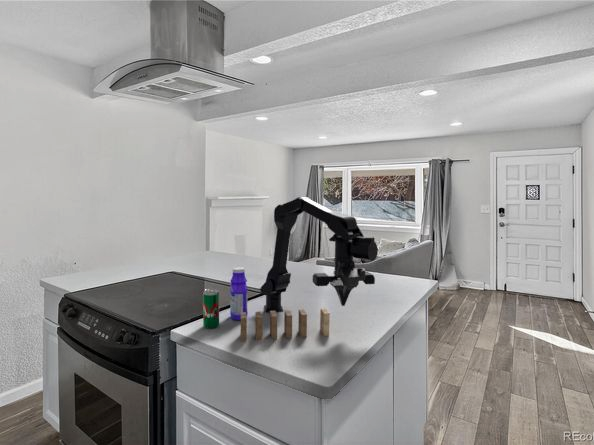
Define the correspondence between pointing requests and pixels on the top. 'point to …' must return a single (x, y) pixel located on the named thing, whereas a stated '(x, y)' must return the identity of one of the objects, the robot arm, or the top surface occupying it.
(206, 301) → the soda can
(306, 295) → the top surface
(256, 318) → the domino
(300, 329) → the domino
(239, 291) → the bottle
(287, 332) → the domino
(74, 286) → the top surface
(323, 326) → the oak domino
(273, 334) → the domino
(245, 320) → the domino
